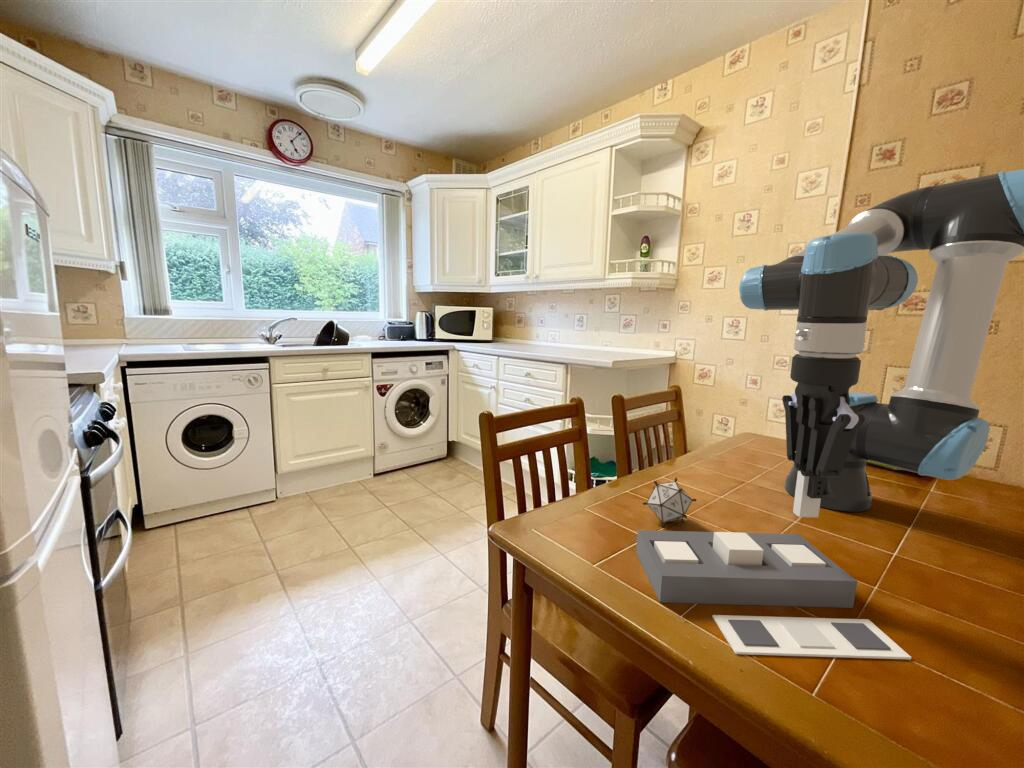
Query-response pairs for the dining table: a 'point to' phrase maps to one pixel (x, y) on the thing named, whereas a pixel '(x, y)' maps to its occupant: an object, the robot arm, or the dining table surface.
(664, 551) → the button far
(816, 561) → the button near arm
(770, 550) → the button board
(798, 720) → the dining table surface
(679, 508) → the game die
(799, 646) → the pattern card
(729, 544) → the middle button
